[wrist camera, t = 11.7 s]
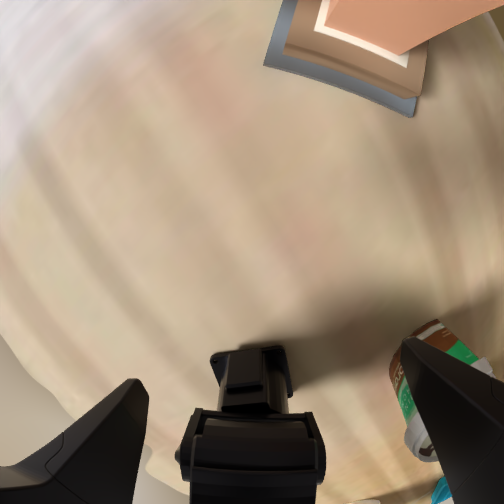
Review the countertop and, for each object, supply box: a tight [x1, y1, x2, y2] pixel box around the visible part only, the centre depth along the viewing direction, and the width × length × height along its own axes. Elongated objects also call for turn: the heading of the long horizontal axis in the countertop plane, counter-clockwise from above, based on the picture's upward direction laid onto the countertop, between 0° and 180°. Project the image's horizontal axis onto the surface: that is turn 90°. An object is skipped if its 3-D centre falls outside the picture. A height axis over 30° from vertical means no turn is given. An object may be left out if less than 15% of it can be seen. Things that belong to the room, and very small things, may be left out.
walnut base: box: [263, 0, 429, 118], centre depth 14 cm, size 11×11×3 cm
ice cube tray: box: [431, 476, 452, 504], centre depth 40 cm, size 12×20×3 cm, turn 21°
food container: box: [389, 319, 496, 462], centre depth 20 cm, size 12×6×10 cm, turn 12°
